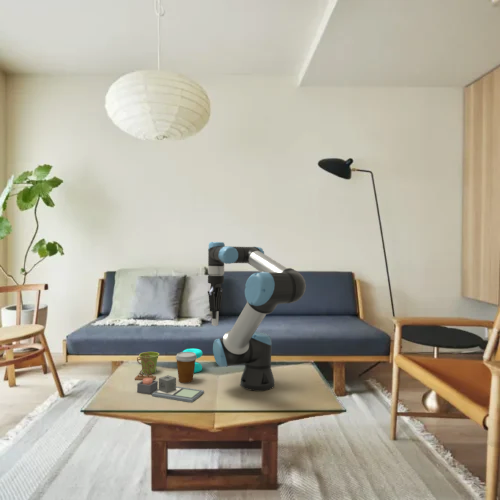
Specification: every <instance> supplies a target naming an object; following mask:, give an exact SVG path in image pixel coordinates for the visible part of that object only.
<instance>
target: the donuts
mask: <svg viewBox="0 0 500 500" xmlns="http://www.w3.org/2000/svg"><path fill="white" fill-rule="evenodd" d="M182 352H193V353H195V354H196V356H197V358H196V360H198V359H199V358H202V356H203V354H204V353H203V351H202V350H201V349H199V348H193V347H192V348H186V349H184V350H182ZM202 370H203V365H202V364H201V362H197V361H195V368H194V374H197V373H199V372H201V371H202Z"/></svg>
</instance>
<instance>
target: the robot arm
mask: <svg viewBox="0 0 500 500" xmlns="http://www.w3.org/2000/svg"><path fill="white" fill-rule="evenodd" d="M207 249H208V250H207V254H208V256H207V257H208V258H207V261H208V262H207V264H208V266H207V274H208V276H207V284H209V285H210V288H209V290H208V291H207V294H208V306H209V312H211V326H213V327H214V326H215V327H217V326H219V312H221V308H222V300H223V299H222V298H223V293H224V288H222V284H224V283H225V264H226V265H227V264H228V265H230V264H248V265H250V266H251V267H252V268H254V269H255V270H257V271H258V272H254V273H252V274H251V275H250V276H249V277H248V278H247V279H246V281H245V282H246V283H245V285H244V286H245V288H244V296H245V300H246V304H245V306H244V307H243V309H242V311H241V313H240V314H239V316H238V317H237V319H236V321H235V322H234V324H233V326H232V328H231V329H230V330H228V331H226V332H225V333H224V334H223V336H222V338H216V339H214V341H213V344H212V352H213V353H212V354H213V356H214V360H215V363H216V364H217V366H218V367H221V368H222V367H223V368H225V367H230V366H231V367H232V366H238V365H244V369H243V370H242V374H241V377H240V386H241V387H242V388H244V389H246V390H249V391H268V390H271V389H273V388H274V387H275V377H274V375H273V371H272V346H273V344H272V337H271V335H269V334H267V333H266V332H259V331H257V329H258V328H259V326H260V325H261V323H262V322H263V320H264V319H265V317H266V315H269V314H272V313H273V312H274V310H276V308H277V306H278V305H285V304H293V303H296V302H298V301H299V300H301V299H302V297H303V296H304V295H305V292H306V290H307V289H306V288H307V284H306V280H305V277H304V276H303V275H302V274H301V273H300V272H299V271H297V270H295V269H294V268H292V267H286V266H284V265H282V264H281V263H279V262H277V261H276V260H275V259H272V257H269V256H268V255H266V254H265V251H264V249H263V248H262V247H261V246H260V247H259V246H230V245H227V246H225V242H224V241H223V242H222V241H210V242H209V243H208V248H207ZM272 387H273V388H272ZM270 388H271V389H270ZM267 389H268V390H267Z"/></svg>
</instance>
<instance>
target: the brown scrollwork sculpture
mask: <svg viewBox="0 0 500 500" xmlns="http://www.w3.org/2000/svg"><path fill="white" fill-rule="evenodd" d="M143 353H144V352H143ZM144 354H148V353H144ZM148 355H149V354H148ZM143 357H149V358H150V355H149V356H145V355H144V356H143V355H142V359H143V360H142V359H141V357H140V356H137V357H136V362H137V363H138V364H139V365H141V370H140V372H139V373H138V375H137V376H135V377H134V381H143V379H144V378H152V379H153V380H154V381H156V379H157V376H156V375H153V373H151V371H150V370H149V365H150V364H148V368H146V363H147V362H148V361H150V362H152V361H151V360H149V359H148V358H147V359H148V360H147V359H145V358H143ZM144 359H145V360H144ZM139 361H140V362H139ZM141 361H144V363H145V367H143V364H141ZM152 363H153V362H152ZM151 366H154V363H153V365H150V368H154V367H151ZM142 369H148V370H149V372H150V374H148V373H147V372H146V370H145V372H146V374H144V373H145V372H144V373H143V374H142Z"/></svg>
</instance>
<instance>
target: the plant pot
mask: <svg viewBox="0 0 500 500" xmlns="http://www.w3.org/2000/svg"><path fill="white" fill-rule="evenodd" d="M144 353H148V354H149V355H150V358H149V357H143V358H145V359H147V358H148V359H149V360H151V361H152V362H153V363H154V366H151V367H154V368H150V365H153V363H152V362H150V361H148V362H147V363H146V368H148V364H150V365H149V370H150V371H151V373H152V374H155V373H156V371H157V364H158V359H159V356H160V353H159V352H157V351H145V352H141V353H140V354H139V355H138V357H141V359H142V355H143V356H144V355H145V356H149V355H148V354H144ZM145 359H144V360H145ZM148 359H147V360H148ZM142 360H143V359H142ZM140 363H141V364H143V367H145V363H144V361H141V360H140ZM141 364H140V365H141ZM141 370H142V371H141V373H143V374H144V375H147V374H146V372H147V373H148V375H149V374H150V372H149V370H148V369H142V368H141ZM145 370H146V372H145ZM144 372H145V373H144Z"/></svg>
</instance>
